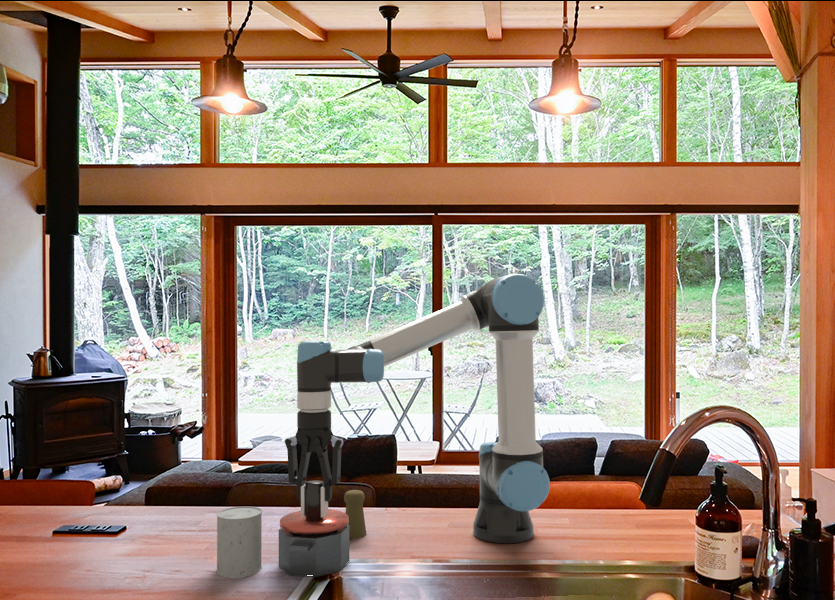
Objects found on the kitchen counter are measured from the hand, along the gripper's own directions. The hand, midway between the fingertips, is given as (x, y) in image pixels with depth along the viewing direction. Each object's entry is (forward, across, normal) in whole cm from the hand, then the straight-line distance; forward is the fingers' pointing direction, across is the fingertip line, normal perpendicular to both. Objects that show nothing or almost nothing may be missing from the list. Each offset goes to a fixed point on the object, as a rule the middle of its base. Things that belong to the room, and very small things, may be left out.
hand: (314, 514), depth 146 cm
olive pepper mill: (+11, -3, -21) cm, 24 cm away
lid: (+4, 0, 0) cm, 4 cm away
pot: (+11, 0, 0) cm, 11 cm away
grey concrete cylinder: (+11, +15, +6) cm, 20 cm away
